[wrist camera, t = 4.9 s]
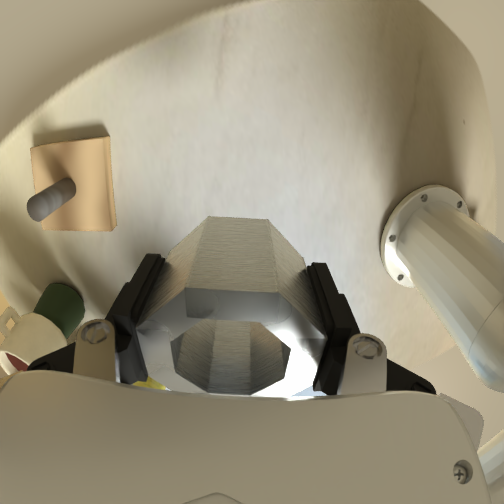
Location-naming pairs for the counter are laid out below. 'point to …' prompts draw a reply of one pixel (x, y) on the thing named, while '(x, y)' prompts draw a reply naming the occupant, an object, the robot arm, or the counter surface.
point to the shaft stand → (73, 185)
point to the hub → (233, 314)
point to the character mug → (40, 328)
